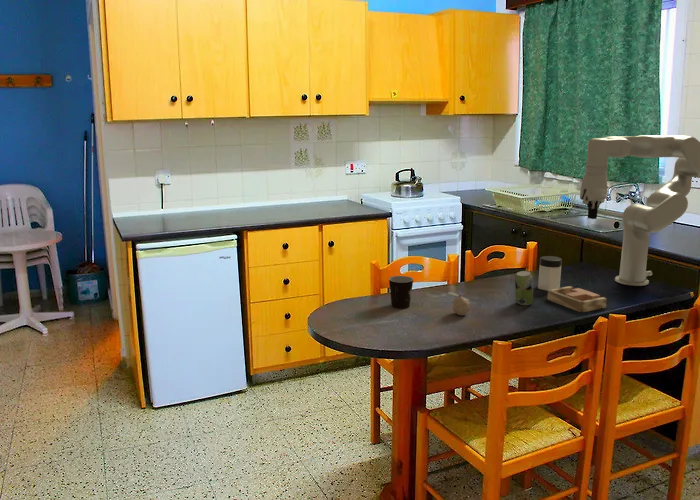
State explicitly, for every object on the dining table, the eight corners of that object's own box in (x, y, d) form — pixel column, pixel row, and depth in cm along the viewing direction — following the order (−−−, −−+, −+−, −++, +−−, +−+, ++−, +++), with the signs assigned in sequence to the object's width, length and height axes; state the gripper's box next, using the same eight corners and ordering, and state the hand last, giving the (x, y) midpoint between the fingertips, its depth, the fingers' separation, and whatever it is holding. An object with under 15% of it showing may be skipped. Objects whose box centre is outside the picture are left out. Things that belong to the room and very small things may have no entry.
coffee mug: (399, 300, 236) (399, 274, 233) (417, 306, 230) (418, 279, 227) (377, 307, 228) (378, 280, 225) (396, 313, 222) (396, 285, 219)
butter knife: (452, 291, 247) (446, 292, 245) (496, 308, 227) (490, 309, 225) (451, 292, 247) (446, 293, 245) (496, 309, 227) (490, 311, 225)
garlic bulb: (447, 313, 221) (448, 291, 220) (460, 310, 225) (461, 288, 223) (461, 318, 216) (462, 296, 214) (474, 315, 220) (475, 292, 218)
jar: (564, 288, 251) (567, 258, 248) (552, 292, 246) (555, 262, 243) (545, 283, 258) (547, 254, 255) (532, 287, 253) (534, 257, 250)
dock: (569, 294, 243) (569, 286, 242) (605, 307, 228) (606, 298, 227) (545, 299, 238) (546, 290, 237) (581, 312, 223) (582, 302, 222)
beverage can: (536, 303, 233) (538, 271, 230) (526, 308, 227) (528, 275, 225) (520, 300, 237) (522, 268, 234) (510, 304, 231) (512, 272, 229)
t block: (577, 297, 240) (578, 288, 239) (599, 304, 232) (600, 295, 231) (558, 300, 236) (558, 291, 235) (578, 308, 227) (579, 298, 226)
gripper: (602, 169, 252) (598, 215, 256) (574, 171, 245) (570, 218, 249) (618, 171, 245) (613, 218, 249) (589, 172, 239) (585, 221, 243)
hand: (592, 218), depth 249 cm, fingers closed
